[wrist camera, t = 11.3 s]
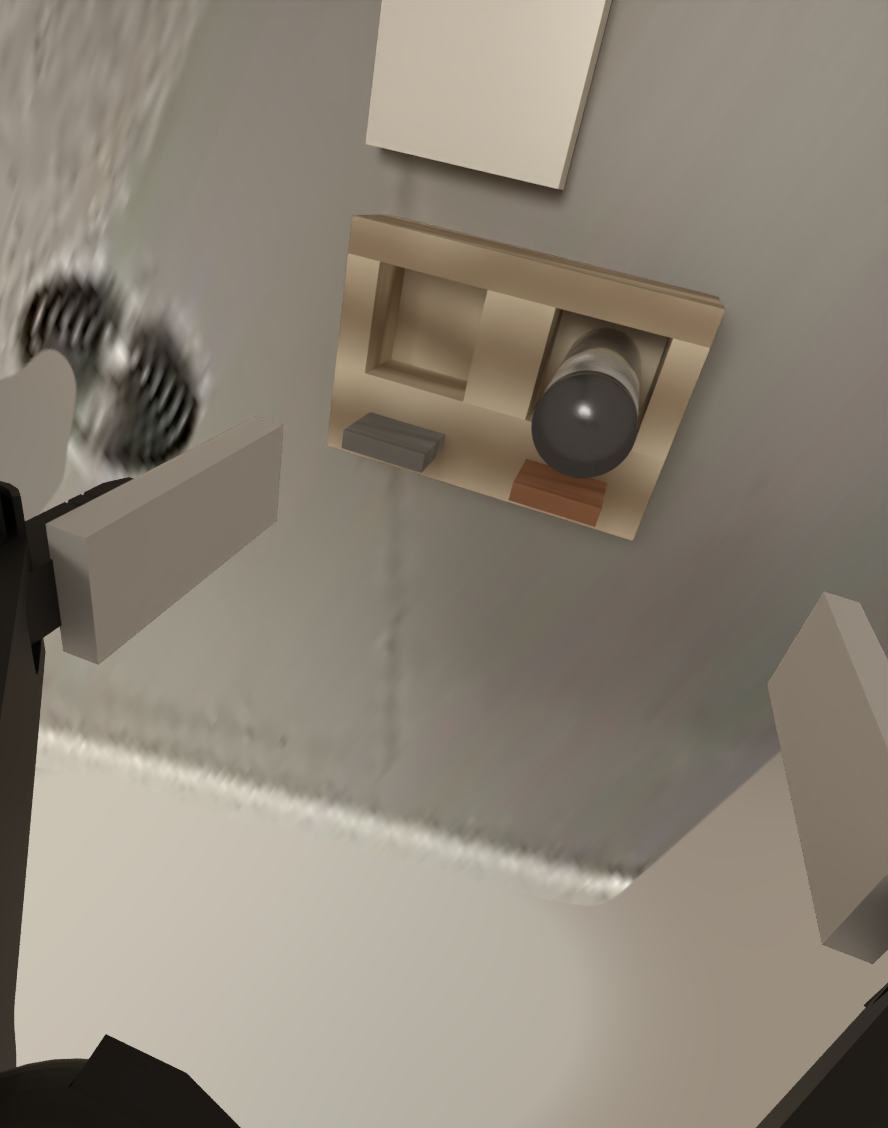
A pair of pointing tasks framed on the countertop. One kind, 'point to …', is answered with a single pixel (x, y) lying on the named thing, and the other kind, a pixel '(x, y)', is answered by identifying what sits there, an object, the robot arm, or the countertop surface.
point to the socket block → (501, 364)
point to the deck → (486, 82)
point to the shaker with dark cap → (590, 406)
